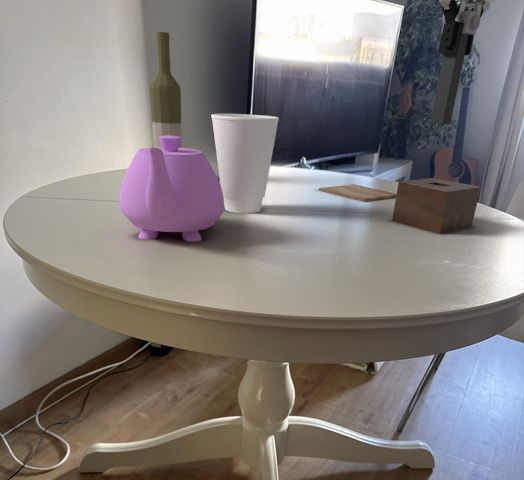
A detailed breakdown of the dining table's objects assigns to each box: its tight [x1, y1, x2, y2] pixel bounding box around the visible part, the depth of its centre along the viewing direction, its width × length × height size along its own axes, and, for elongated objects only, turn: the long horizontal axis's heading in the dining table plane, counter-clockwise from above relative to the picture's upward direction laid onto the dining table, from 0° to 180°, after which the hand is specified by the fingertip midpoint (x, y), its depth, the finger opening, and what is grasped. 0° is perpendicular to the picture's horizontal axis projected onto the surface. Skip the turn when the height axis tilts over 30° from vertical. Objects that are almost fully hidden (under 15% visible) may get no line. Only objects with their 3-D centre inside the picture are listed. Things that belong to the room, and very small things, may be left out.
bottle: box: [149, 31, 183, 148], centre depth 110 cm, size 7×7×30 cm
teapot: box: [119, 135, 225, 242], centre depth 70 cm, size 22×16×14 cm
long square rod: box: [430, 10, 481, 126], centre depth 78 cm, size 3×5×16 cm, turn 39°
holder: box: [391, 177, 482, 235], centre depth 86 cm, size 10×10×7 cm
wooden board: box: [318, 183, 397, 203], centre depth 111 cm, size 12×14×1 cm
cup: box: [210, 113, 280, 214], centre depth 87 cm, size 12×12×16 cm
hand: (454, 53), depth 77 cm, fingers closed on long square rod, 2 cm apart
